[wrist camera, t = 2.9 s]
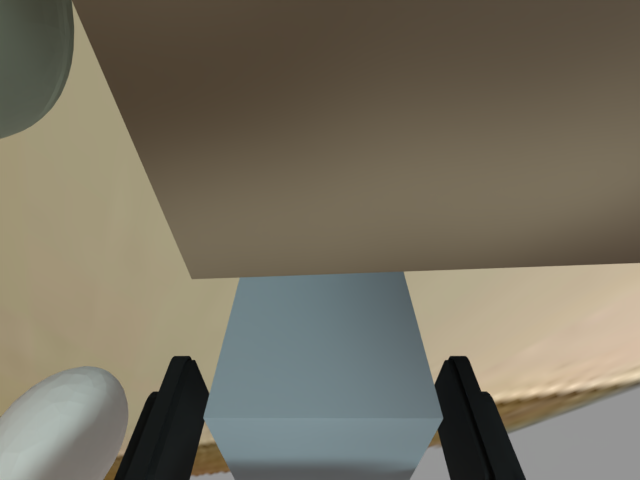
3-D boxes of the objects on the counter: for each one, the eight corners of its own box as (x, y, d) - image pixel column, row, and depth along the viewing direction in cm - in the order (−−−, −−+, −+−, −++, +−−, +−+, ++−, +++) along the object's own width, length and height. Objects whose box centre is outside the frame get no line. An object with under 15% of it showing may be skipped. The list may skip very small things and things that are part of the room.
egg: (167, 375, 19) (99, 555, 13) (116, 402, 21) (39, 568, 15) (73, 331, 16) (-64, 533, 10) (26, 367, 18) (-109, 552, 12)
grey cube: (245, 256, 13) (203, 418, 8) (399, 256, 13) (443, 418, 8) (262, 344, 17) (239, 489, 12) (381, 344, 17) (404, 489, 12)
